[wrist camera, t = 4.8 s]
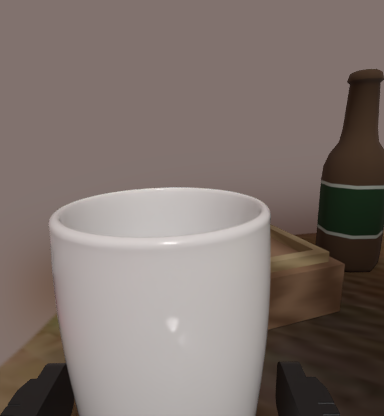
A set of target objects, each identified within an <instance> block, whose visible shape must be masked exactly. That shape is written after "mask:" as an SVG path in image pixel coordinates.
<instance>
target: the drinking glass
mask: <svg viewBox="0 0 384 416" xmlns="http://www.w3.org/2000/svg"><path fill="white" fill-rule="evenodd" d="M270 220H271V214H270V210H269V208H268V207H267V205H266V204H264V203H263V202H262V201H260V200H258V199H256V198H254V197H251V196H248V195H245V194H241V193H236V192H231V191H225V190H216V189H206V188H149V189H137V190H127V191H119V192H112V193H107V194H101V195H96V196H92V197H88V198H84V199H81V200H77V201H75V202H72V203H69V204H67V205H65V206H63V207H61V208H60V209H58V210H57V211H55V212H54V213H53V214H52V216H51V217H50V220H49V232H50V245H51V258H52V272H53V282H54V292H55V300H56V308H57V316H58V322H59V329H60V335H61V340H62V346H63V351H64V356H65V361H66V365H67V370H68V374H69V378H70V382H71V386H72V390H73V394H74V398H75V402H76V406H77V410H78V414H79V416H256V412H257V405H258V398H259V392H260V385H261V379H262V372H263V365H264V358H265V350H266V342H267V332H268V321H269V306H270V280H271V233H270Z"/></svg>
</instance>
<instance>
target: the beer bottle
mask: <svg viewBox="0 0 384 416" xmlns="http://www.w3.org/2000/svg"><path fill="white" fill-rule="evenodd" d="M383 80H384V76H383V72H382V71H380V70H378V69H366V70H360V71H356V72H354V73H352V74H350V76H349V79H348V81H347V82H348V83H349V84H350V88H349V94H348V101H347V106H346V112H345V119H344V125H343V130H342V134H341V137H340V141H339V143H338V144H337V145H336V146H335V148H334V149H333V150H332V151H331V153H330V154H329V156H328V158H327V160H326V162H325V164H324V166H323V172H322V178H321V188H320V200H319V212H318V224H317V236H316V246H318V247H320V248H322V249H324V250H327V251H329V256H330V257H332V258H334V259H336V260H338V261H340V262H342V263H344V264H345V268H344V271H346V272H370V271H371V270H372V268H373V267H374V266H375V265H376V264H377V263H378V259H379V254H380V250H381V242H382V235H383V228H384V149H383V147H382V146H381V144H380V143H379V137H378V116H379V99H380V82H381V81H383Z"/></svg>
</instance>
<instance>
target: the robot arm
mask: <svg viewBox="0 0 384 416" xmlns="http://www.w3.org/2000/svg"><path fill="white" fill-rule="evenodd" d="M73 404H74V394H73V390H72V386H71V382H70V378H69V374H68V370H67V365H66V363H49V364H47V365H46V366H45V367H44V369H43V370H42V372H41V373H40V375H39V376H38V378H37V379H30V380H29V381H28V382H27V383H25V384H24V385H23V386H22V387H21V388H20V389H18V390H17V392H16V393H15V395H14V396H13V398H12V399H11V400H10V402H9V403H8V406H7V407H6V408H5V409H4V411H3V412H2V413H1V415H0V416H70V415H71V413H72V409H73ZM276 405H277V411H278V415H279V416H340V413H339V411H338V409H337V407H336V405H334V401H333V399H332V397H331V395H330V394H329V392H328V390H327V388H326V387H325V386H324V385H323V384H322V383H321V382H320V381H319V380H318V379H317V378H316V377H306V376H305V373H304V371H303V369H302V367H301V365H300V363H299V362H278V364H277V379H276Z"/></svg>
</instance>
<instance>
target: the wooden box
mask: <svg viewBox="0 0 384 416" xmlns="http://www.w3.org/2000/svg"><path fill="white" fill-rule="evenodd" d="M270 233H271V280H270V306H269V321H268V330H270V329H274V328H277V327H281V326H285V325H289V324H293V323H296V322H300V321H304V320H308V319H312V318H315V317H319V316H323V315H327V314H331V313H334V312H338V311H340V304H341V295H342V286H343V277H344V268H345V264H344V263H342V262H340V261H338V260H336V259H334V258H332V257H330V256H329V251H327V250H324V249H322V248H320V247H318V246H316V245H314V244H312V243H309V242H307V241H305V240H303V239H301V238H299V237H297V236H294V235H292V234H290V233H288V232H286V231H284V230H282V229H279V228H277V227H275V226H273V225H271V224H270Z"/></svg>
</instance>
